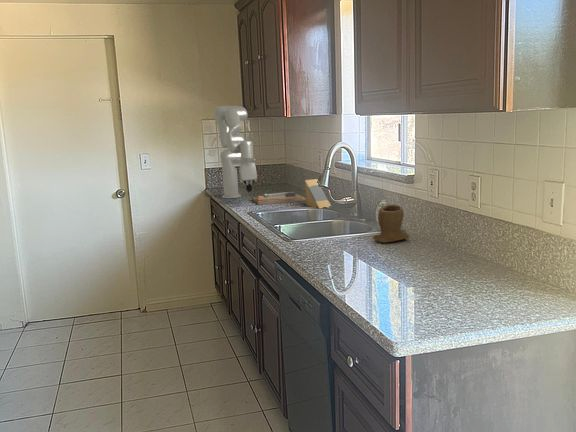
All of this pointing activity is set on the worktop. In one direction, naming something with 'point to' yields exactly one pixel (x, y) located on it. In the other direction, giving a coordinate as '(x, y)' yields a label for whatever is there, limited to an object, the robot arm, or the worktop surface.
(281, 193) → the upper tong arm
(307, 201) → the sandwich container
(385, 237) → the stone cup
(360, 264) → the worktop surface
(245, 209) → the worktop surface
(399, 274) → the worktop surface
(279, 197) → the tongs lower arm
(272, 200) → the walnut cutting board
